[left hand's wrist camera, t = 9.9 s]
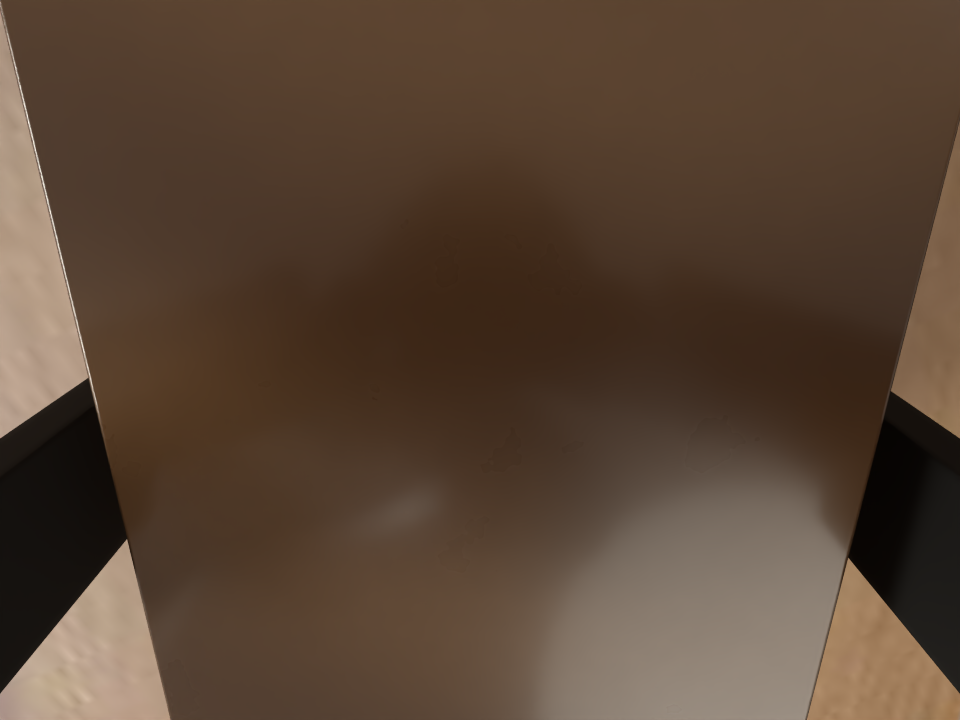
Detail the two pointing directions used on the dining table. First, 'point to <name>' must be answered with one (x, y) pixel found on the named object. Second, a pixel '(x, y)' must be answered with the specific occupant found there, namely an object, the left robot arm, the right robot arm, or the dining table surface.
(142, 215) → the cabinet
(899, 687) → the dining table surface
